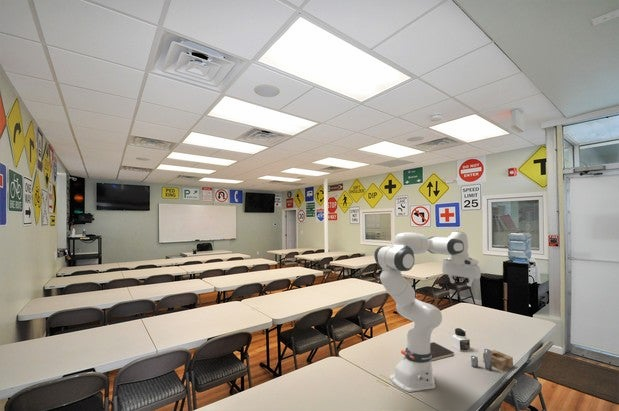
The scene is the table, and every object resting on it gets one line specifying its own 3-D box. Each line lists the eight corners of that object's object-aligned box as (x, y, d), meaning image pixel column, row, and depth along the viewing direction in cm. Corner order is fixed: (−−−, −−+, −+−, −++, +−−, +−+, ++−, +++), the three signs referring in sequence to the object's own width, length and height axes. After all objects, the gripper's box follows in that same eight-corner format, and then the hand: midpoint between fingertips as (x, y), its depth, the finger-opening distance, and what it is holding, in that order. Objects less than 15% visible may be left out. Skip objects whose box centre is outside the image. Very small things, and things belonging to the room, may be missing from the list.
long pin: (489, 371, 146) (488, 352, 147) (483, 368, 149) (482, 349, 150) (493, 370, 148) (492, 351, 148) (487, 367, 151) (486, 348, 151)
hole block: (501, 370, 147) (501, 361, 147) (483, 362, 156) (483, 353, 156) (513, 366, 151) (512, 357, 151) (494, 358, 160) (494, 349, 160)
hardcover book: (454, 356, 164) (454, 352, 164) (424, 363, 156) (424, 359, 156) (433, 345, 179) (433, 341, 179) (405, 351, 170) (405, 347, 170)
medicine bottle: (460, 351, 169) (459, 331, 170) (452, 346, 176) (451, 327, 177) (470, 350, 170) (469, 330, 171) (461, 345, 177) (461, 326, 178)
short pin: (475, 368, 149) (475, 359, 150) (470, 365, 152) (469, 356, 152) (479, 367, 150) (479, 357, 151) (473, 364, 153) (473, 355, 154)
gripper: (439, 258, 163) (440, 281, 162) (475, 262, 145) (476, 288, 145) (445, 257, 166) (446, 280, 165) (481, 261, 149) (482, 287, 148)
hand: (460, 284), depth 155 cm, fingers open, 8 cm apart
